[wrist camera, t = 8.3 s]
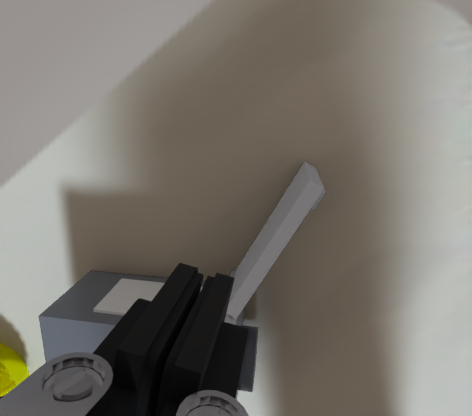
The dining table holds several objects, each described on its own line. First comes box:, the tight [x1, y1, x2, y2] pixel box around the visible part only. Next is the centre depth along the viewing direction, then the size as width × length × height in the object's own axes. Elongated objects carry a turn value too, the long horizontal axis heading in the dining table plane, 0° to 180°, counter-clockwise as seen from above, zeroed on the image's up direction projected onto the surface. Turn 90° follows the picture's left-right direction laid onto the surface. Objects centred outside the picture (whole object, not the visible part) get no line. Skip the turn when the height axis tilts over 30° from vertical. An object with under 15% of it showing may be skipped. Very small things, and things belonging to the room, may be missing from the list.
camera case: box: [39, 271, 258, 400], centre depth 24 cm, size 13×8×7 cm, turn 88°
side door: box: [224, 162, 326, 325], centre depth 21 cm, size 10×2×6 cm, turn 151°
